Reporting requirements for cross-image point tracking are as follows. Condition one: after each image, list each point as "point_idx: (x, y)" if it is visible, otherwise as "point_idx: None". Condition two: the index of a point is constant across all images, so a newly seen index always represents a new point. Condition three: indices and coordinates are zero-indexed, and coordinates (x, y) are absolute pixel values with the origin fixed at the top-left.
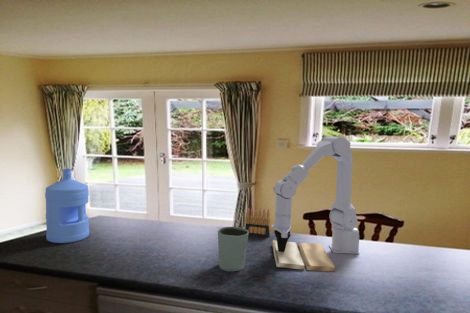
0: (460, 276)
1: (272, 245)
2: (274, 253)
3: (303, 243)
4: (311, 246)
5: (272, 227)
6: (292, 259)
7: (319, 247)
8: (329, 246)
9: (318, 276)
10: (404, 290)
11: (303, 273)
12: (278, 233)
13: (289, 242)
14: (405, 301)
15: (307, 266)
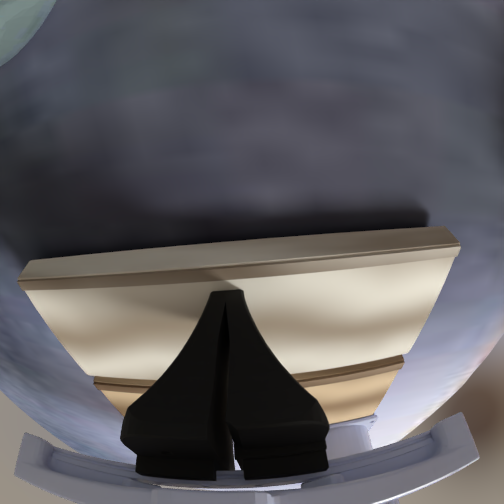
0: (211, 489)
1: (413, 229)
2: (203, 252)
3: (389, 377)
4: (345, 402)
5: (151, 501)
6: (114, 349)
7: (330, 418)
8: (365, 418)
9: (72, 379)
10: (114, 455)
11: (63, 349)
12: (143, 450)
13: (412, 332)
14: (73, 442)
15: (95, 378)
